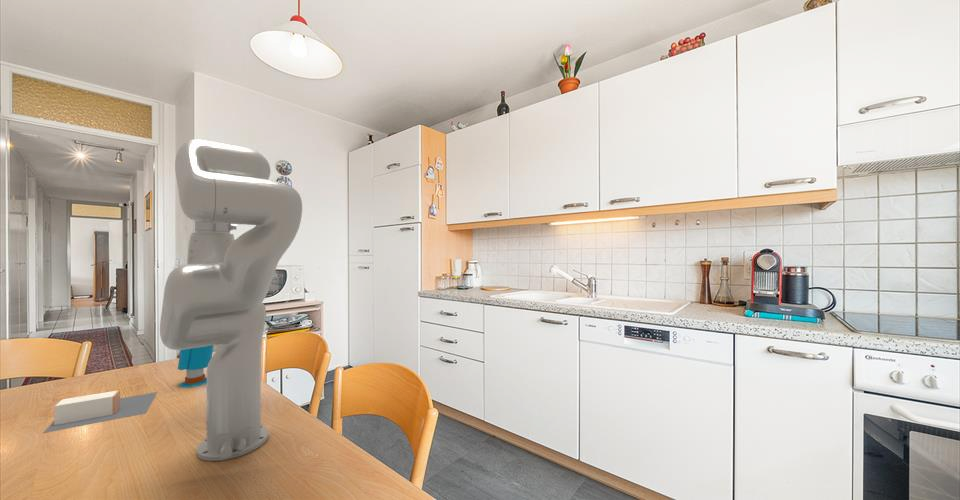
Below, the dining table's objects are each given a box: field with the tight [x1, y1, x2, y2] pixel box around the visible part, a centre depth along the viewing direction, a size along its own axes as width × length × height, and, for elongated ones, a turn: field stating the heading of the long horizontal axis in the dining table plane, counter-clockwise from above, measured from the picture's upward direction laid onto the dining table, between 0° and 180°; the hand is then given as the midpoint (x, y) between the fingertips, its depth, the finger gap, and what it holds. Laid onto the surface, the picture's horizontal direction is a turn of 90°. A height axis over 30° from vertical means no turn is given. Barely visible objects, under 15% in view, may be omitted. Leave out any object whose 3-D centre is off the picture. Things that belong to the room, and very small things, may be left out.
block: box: [53, 389, 121, 425], centre depth 87 cm, size 4×4×10 cm
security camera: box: [176, 345, 215, 388], centre depth 109 cm, size 8×21×10 cm
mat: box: [42, 391, 158, 434], centre depth 90 cm, size 16×17×1 cm
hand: (212, 297), depth 93 cm, fingers closed
